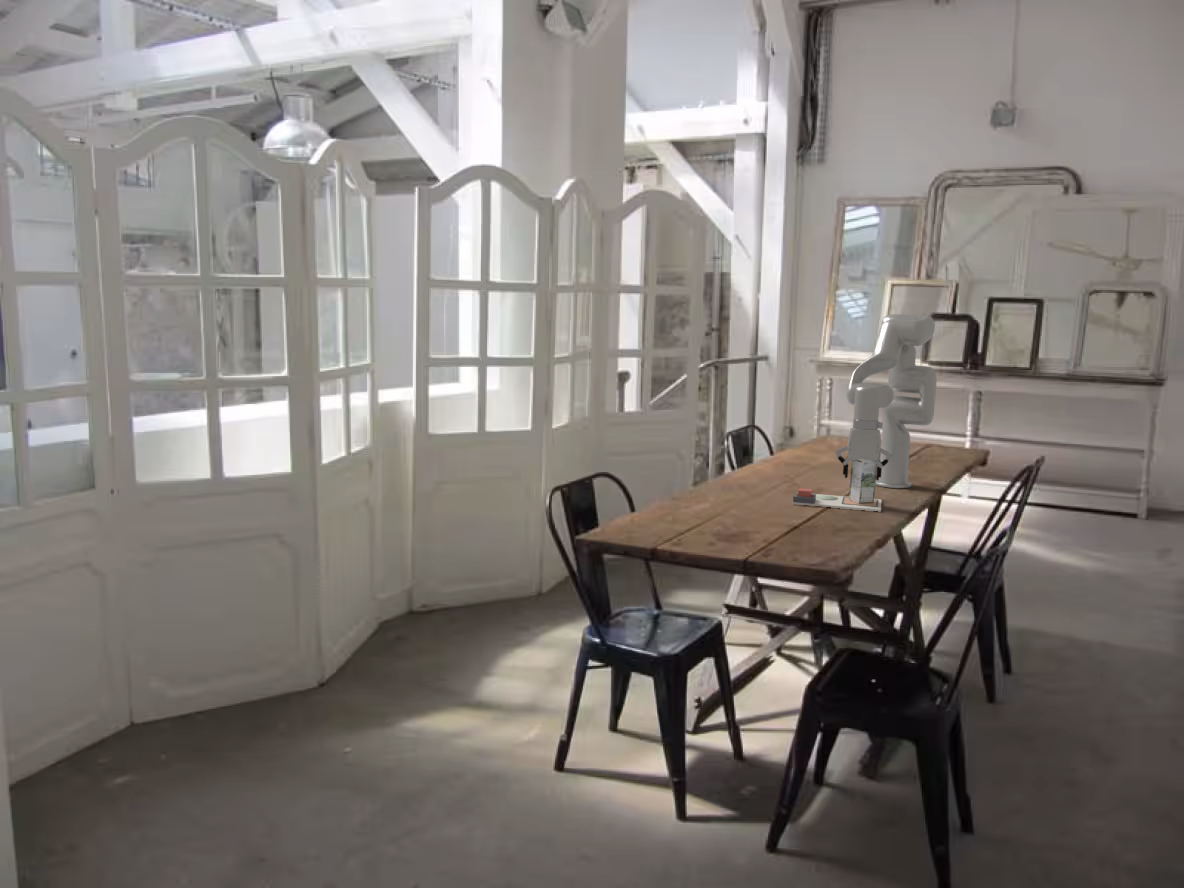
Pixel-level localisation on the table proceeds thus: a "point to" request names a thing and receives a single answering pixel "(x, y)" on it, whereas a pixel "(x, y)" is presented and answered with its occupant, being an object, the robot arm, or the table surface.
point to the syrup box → (862, 481)
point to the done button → (805, 492)
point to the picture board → (836, 502)
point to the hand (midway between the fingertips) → (861, 478)
